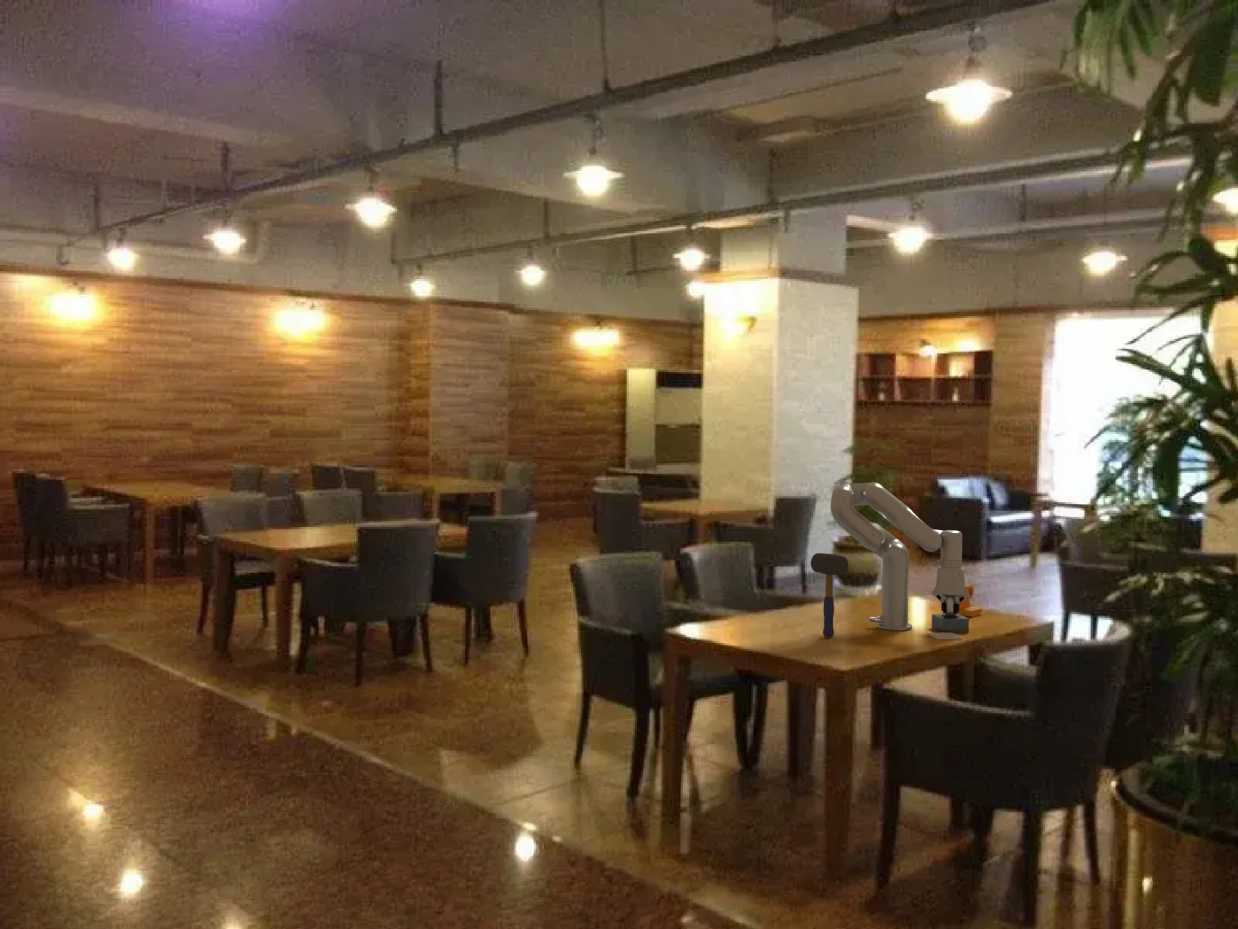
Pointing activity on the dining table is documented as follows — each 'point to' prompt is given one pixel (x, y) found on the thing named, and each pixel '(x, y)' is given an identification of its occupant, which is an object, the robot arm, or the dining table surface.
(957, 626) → the chuck block
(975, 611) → the bracket
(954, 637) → the pad
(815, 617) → the dining table surface
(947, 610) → the steel peg
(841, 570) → the rubber mallet
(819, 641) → the dining table surface
